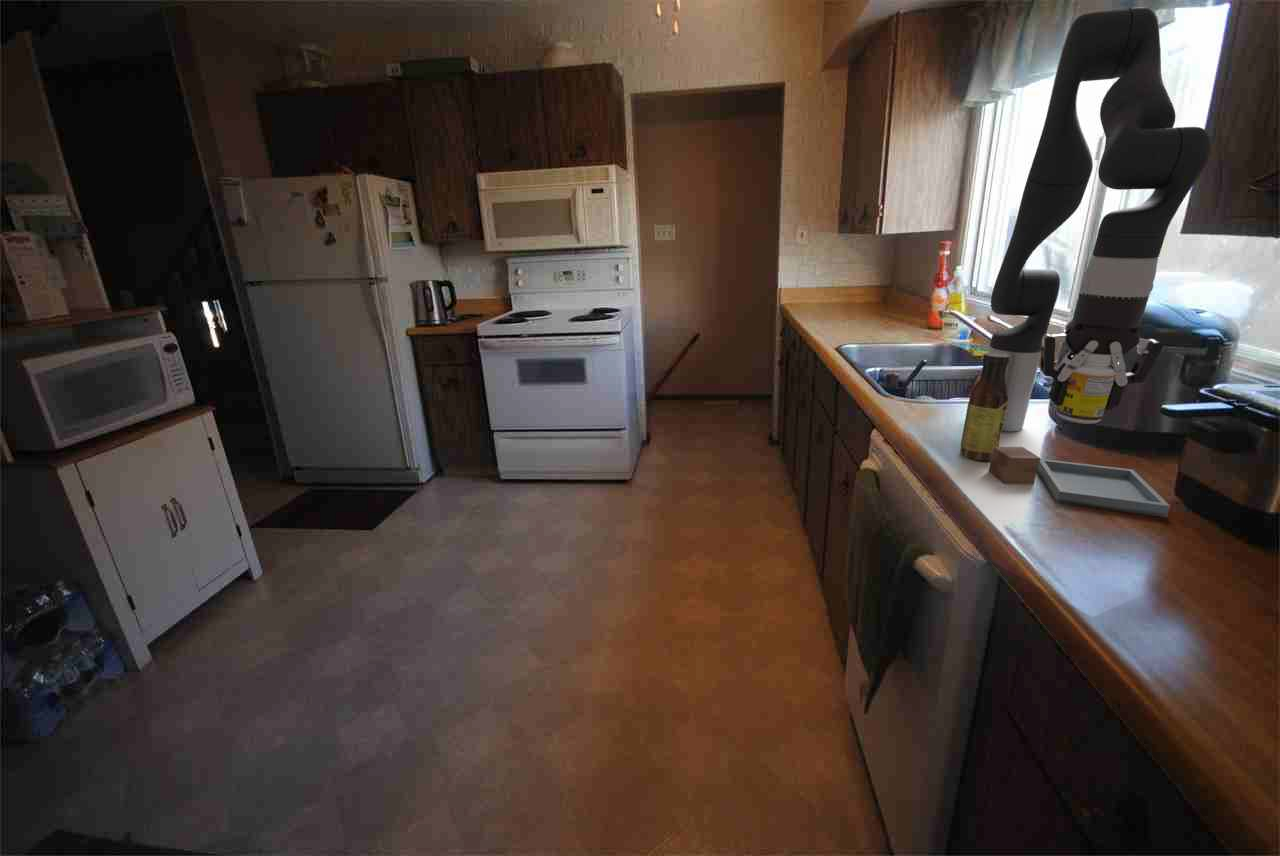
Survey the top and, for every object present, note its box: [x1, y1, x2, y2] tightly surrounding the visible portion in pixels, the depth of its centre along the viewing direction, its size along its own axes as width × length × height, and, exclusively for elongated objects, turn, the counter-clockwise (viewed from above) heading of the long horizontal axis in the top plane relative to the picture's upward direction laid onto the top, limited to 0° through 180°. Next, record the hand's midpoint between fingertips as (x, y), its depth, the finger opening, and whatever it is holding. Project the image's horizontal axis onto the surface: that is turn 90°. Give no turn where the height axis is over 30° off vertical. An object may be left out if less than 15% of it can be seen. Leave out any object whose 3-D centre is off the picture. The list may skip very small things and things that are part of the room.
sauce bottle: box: [960, 352, 1010, 462], centre depth 104 cm, size 6×6×20 cm
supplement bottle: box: [1055, 353, 1116, 425], centre depth 82 cm, size 6×6×10 cm
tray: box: [1037, 458, 1171, 519], centre depth 93 cm, size 14×14×2 cm
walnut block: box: [987, 446, 1042, 485], centre depth 98 cm, size 5×5×5 cm
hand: (1081, 405), depth 83 cm, fingers closed on supplement bottle, 5 cm apart
